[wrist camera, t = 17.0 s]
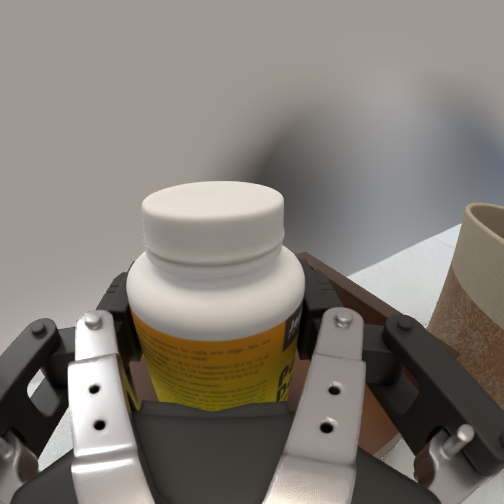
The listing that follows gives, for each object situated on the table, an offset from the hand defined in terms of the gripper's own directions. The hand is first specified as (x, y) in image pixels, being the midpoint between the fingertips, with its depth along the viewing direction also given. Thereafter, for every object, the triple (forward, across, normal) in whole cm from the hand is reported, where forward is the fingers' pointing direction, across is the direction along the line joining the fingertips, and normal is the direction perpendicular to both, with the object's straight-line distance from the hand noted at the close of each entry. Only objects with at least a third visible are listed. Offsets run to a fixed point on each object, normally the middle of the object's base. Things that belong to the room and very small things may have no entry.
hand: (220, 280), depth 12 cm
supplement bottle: (-3, 0, -6) cm, 7 cm away
